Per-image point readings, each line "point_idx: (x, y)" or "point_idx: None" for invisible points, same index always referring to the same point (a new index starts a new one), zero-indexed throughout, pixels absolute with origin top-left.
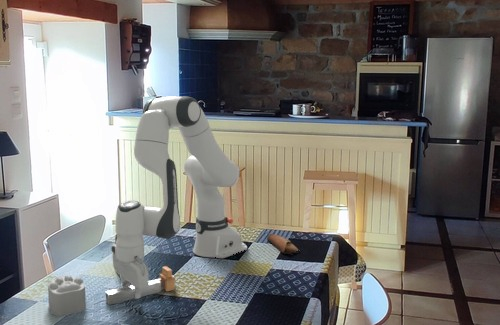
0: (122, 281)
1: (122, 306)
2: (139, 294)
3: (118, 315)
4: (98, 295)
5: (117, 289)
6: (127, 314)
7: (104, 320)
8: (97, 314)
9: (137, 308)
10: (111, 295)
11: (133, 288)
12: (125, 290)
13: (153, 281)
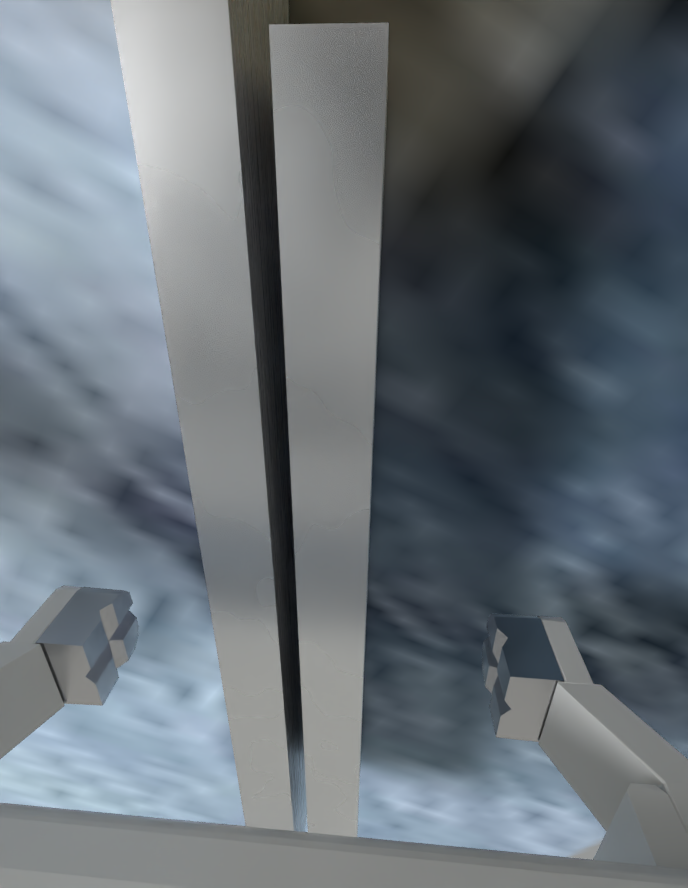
0: (50, 715)
1: (458, 693)
2: (579, 671)
3: None
4: (113, 733)
5: (264, 803)
6: (649, 725)
7: (586, 847)
8: (455, 840)
9: (617, 620)
10: None
11: (355, 680)
12: (354, 766)
13: (240, 228)
